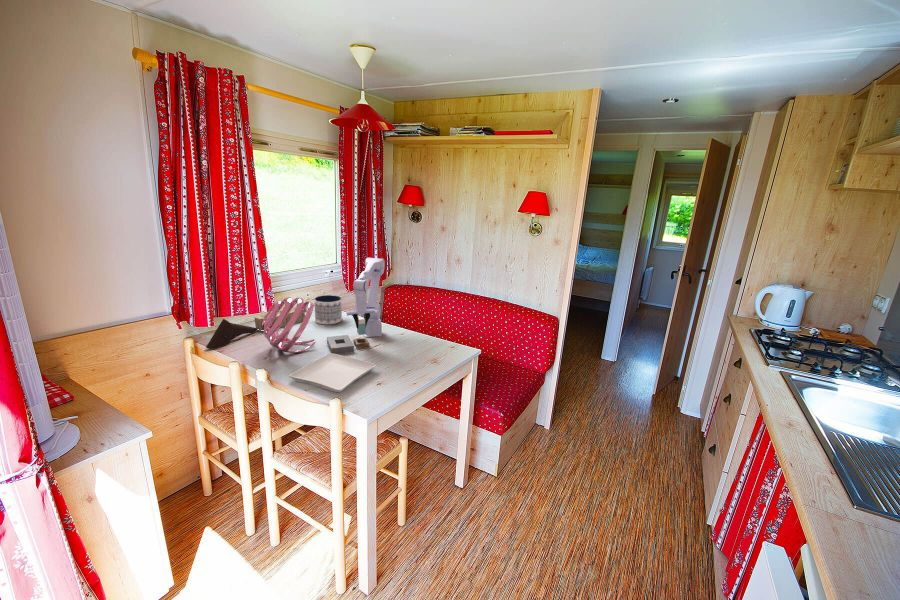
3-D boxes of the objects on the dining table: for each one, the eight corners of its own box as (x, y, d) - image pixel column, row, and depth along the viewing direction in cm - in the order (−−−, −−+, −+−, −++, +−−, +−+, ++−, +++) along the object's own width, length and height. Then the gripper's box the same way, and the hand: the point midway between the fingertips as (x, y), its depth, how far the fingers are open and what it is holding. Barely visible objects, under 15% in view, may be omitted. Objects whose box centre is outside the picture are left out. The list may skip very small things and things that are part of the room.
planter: (347, 319, 242) (346, 297, 238) (329, 326, 228) (329, 303, 224) (327, 315, 248) (326, 293, 244) (309, 321, 234) (308, 299, 230)
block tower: (263, 334, 213) (308, 320, 237) (262, 320, 211) (307, 307, 234) (255, 330, 217) (300, 317, 241) (253, 317, 215) (299, 304, 238)
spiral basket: (334, 304, 206) (287, 277, 193) (332, 333, 182) (278, 306, 169) (305, 339, 213) (258, 316, 200) (300, 372, 189) (245, 349, 176)
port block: (347, 340, 208) (347, 334, 207) (353, 352, 194) (353, 345, 193) (326, 343, 203) (326, 336, 202) (331, 354, 189) (331, 348, 188)
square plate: (330, 359, 186) (329, 351, 185) (377, 371, 176) (378, 363, 175) (287, 382, 162) (286, 374, 161) (340, 398, 152) (340, 389, 151)
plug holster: (365, 341, 208) (365, 337, 207) (369, 347, 201) (369, 342, 201) (353, 343, 205) (353, 338, 205) (356, 348, 199) (356, 344, 198)
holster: (242, 355, 210) (202, 346, 187) (253, 327, 213) (215, 315, 191) (249, 357, 208) (210, 349, 185) (260, 328, 212) (223, 316, 189)
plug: (363, 331, 204) (363, 317, 202) (365, 334, 200) (365, 319, 198) (357, 332, 203) (356, 317, 201) (358, 334, 199) (358, 320, 197)
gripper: (348, 305, 190) (348, 331, 194) (376, 303, 197) (376, 328, 200) (345, 301, 197) (346, 326, 200) (373, 300, 203) (373, 324, 206)
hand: (361, 327), depth 201 cm, fingers closed on plug, 3 cm apart
